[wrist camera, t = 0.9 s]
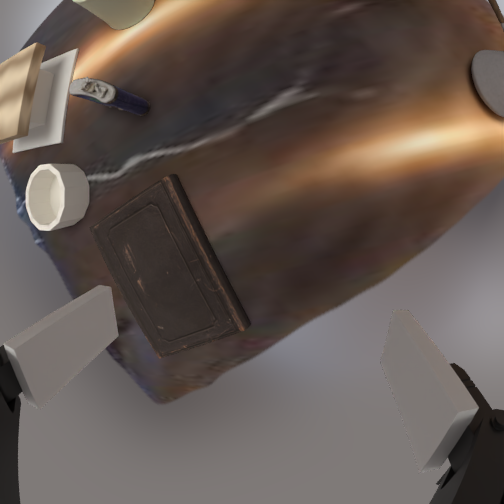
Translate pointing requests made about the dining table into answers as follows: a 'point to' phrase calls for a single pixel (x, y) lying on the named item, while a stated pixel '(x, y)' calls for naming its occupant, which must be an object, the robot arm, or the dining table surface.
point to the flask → (108, 95)
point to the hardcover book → (168, 270)
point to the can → (118, 11)
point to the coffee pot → (490, 72)
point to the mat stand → (49, 103)
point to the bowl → (57, 196)
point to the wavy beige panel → (18, 91)
